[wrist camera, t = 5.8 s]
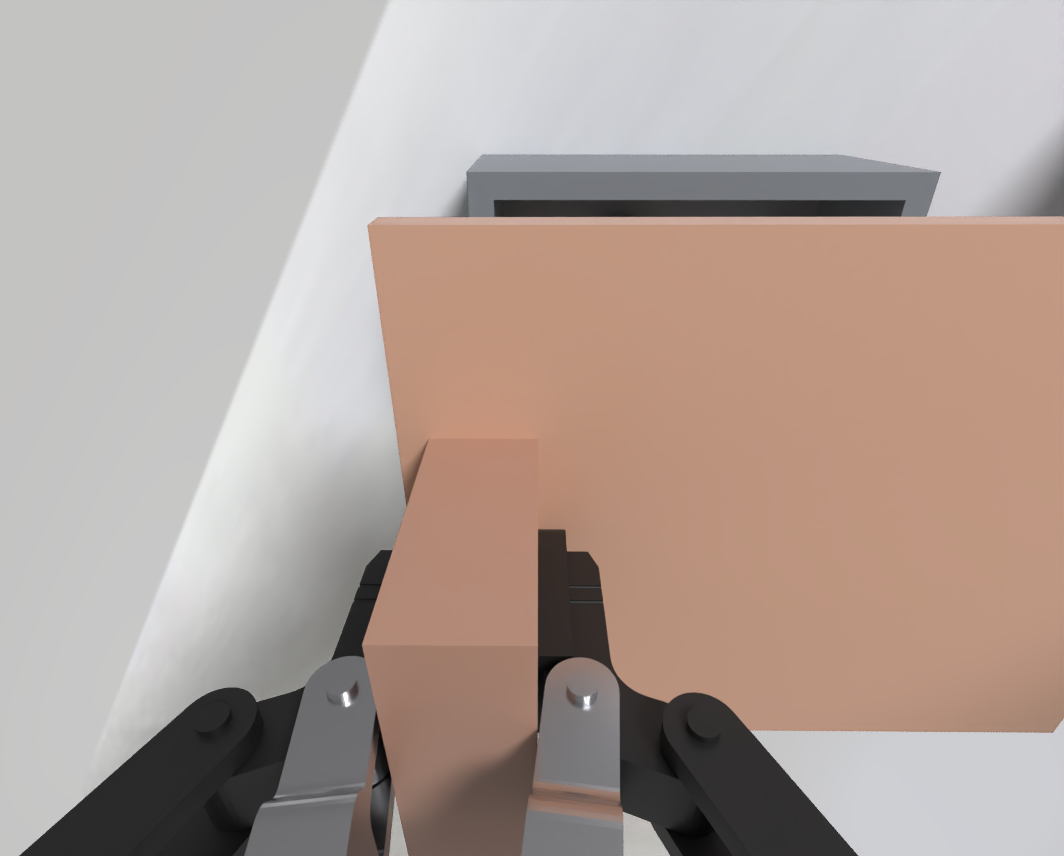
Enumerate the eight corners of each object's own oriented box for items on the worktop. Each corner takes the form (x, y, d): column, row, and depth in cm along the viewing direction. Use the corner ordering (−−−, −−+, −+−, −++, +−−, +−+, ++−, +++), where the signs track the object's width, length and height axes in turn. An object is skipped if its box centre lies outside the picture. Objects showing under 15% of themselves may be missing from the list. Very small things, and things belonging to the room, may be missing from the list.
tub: (841, 154, 29) (940, 172, 22) (781, 403, 36) (841, 476, 29) (482, 154, 29) (466, 171, 22) (491, 403, 36) (482, 476, 29)
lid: (1285, 203, 12) (2229, 332, 5) (1000, 668, 20) (1244, 967, 13) (394, 204, 12) (220, 331, 6) (447, 664, 20) (400, 957, 13)
